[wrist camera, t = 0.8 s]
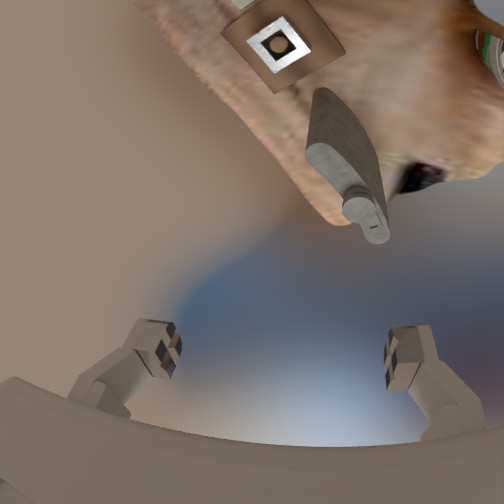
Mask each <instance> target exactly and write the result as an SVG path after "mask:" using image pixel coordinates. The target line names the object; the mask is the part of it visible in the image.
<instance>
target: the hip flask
mask: <svg viewBox="0 0 504 504" xmlns="http://www.w3.org/2000/svg"><path fill="white" fill-rule="evenodd" d="M305 158H306V161H307V162H308V164H309V165H310V166H312V167H313V168H314V169H315V170H317V171H318V172H319V173H320V174H321V175H322V176H323V177H324V178H325V179H326V180H327V181H328V182H329V183H330V184H331V185H332V186H333V187H334V188H335V189H336V190H337V191H338V193H339V194H340V195H341V196H342V198H343V199H344V201H343V204H342V212H343V215H344V217H345V218H346V219H347V220H349V221H350V222H353V223H360V225H361V227H362V230H363V232H364V234H365V237H366V239H367V240H368V241H369V242H370V243H373V244H381V243H384V242H386V241H387V240H388V239H389V238H390V227H389V221H388V214H387V207H386V201H385V195H384V189H383V184H382V179H381V173H380V168H379V163H378V159H377V155H376V152H375V150H374V147H373V145H372V143H371V141H370V139H369V137H368V135H367V133H366V132H365V130H364V128H363V127H362V125H361V124H360V122H359V121H358V120H357V118H356V117H355V116H354V114H353V113H352V112H351V110H350V109H349V108H348V107H347V106H346V105H345V104H344V103H343V101H342V100H341V99H340V98H339V97H338V96H336V95H335V94H334V93H333V92H332V91H331V90H329V89H327V88H319V89H317V90H316V91H315V92H314V94H313V100H312V108H311V116H310V123H309V131H308V138H307V145H306V152H305Z"/></svg>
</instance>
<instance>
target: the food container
mask: <svg viewBox="0 0 504 504" xmlns="http://www.w3.org/2000/svg"><path fill="white" fill-rule="evenodd" d="M474 46H475V49H476V53H477V55H478V57H479V59H480V60H481V62H482V64H483V65H484V66H485V67H486V68H487V69H489V70H490V71H491V72H492V73H493V74H494V75H495V77H496V78H497V80H498V82H499V84H500V85H501V86H502V88H503V89H504V43H503V40H501V39H499V38H497V37H495V36H493V35H489V34H486V33H484V32H481V31H479V30H476V29H475V33H474Z"/></svg>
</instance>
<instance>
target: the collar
mask: <svg viewBox="0 0 504 504" xmlns="http://www.w3.org/2000/svg"><path fill="white" fill-rule="evenodd" d="M280 29H281V30H282V31H283V32H284V34H285V35H286V36H287V37H288V38H289V40H290V41H291V42H292V43H293V44H294V47H292V48H291V49H289V50H288V51H286V52H284V53H283V54H281V55H280V54H279V53H276V52H274V51H273V50H272V49H271V47H270V43H269V41H268V40H267V39H266V38H268V37H269V36H271V35H272V34H274V33H275V32H277V31H278V30H280ZM246 42H247V43H248V44H249V45H250V46H251V47H252V48H253V49H254V51H255V52H256V53H257V54H258V55H259V56H260V57H261V59H262V60H263V61H264V62H265V63H266V64H267V66H268V67H269V68H270V69H271V70H272V72H273V73H274V74H275V73H276V72H278V71H279V70H281V69H283V68H284V67H286V66H287V65H289V64H291V63H292V62H294V61H296V60H297V59H299V58H301V57H302V56H304V55H306V54H307V53H309V52H311V49H312V45H311V44H310V42H309V41H308V40H307V39H306V37H305V36H304V35H303V34H302V32H301V31H300V30H299V29H298V27H297V26H296V25H295V24H294V23H293V21H292V20H291V19H290V18H289V17H288V16H287V14H285V15H284V16H282V17H281V18H279V19H278V20H276V21H274V22H273V23H271V24H270V25H268V26H267V27H265V28H264V29H262V30H261V31H259V32H258V33H257V34H255V35H254V36H252V37H251V38H250V39H248V40H247V41H246Z"/></svg>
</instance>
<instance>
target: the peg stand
mask: <svg viewBox="0 0 504 504" xmlns="http://www.w3.org/2000/svg"><path fill="white" fill-rule="evenodd" d="M285 14H287V16H288V17H289V18H290V19H291V20H292V21H293V23H294V24H295V25H296V26H297V27H298V29H299V30H300V31H301V32H302V34H303V35H304V36H305V37H306V39H307V40H308V41H309V42H310V44H311V45H312V49H311V52H309V53H307V54H306V55H304V56H302V57H301V58H299V59H297V60H296V61H294V62H292V63H291V64H289V65H287V66H286V67H284V68H283V69H281V70H279V71H278V72H276V73H275V74H274V73H273V72H272V70H271V69H270V68H269V67H268V66H267V64H266V63H265V62H264V61H263V60H262V59H261V57H260V56H259V55H258V54H257V53H256V52H255V51H254V49H253V48H252V47H251V46H250V45H249V44H248V43H247V42H246V41H247V40H248V39H250V38H251V37H252V36H254V35H255V34H257V33H258V32H259V31H261V30H262V29H264V28H265V27H267V26H268V25H270V24H271V23H273V22H274V21H276V20H278V19H279V18H281V17H282V16H284V15H285ZM220 34H221V35H222V36H223V37H224V38H225V39H226V40H227V41H228V42H229V43H230V44H231V45H232V46H233V47H234V49H235V50H236V51H237V52H238V53H239V54H240V55H241V56H242V57H243V58H244V60H245V61H246V62H247V63H248V64H249V65H250V66H251V68H252V69H253V70H254V71H255V72H256V73H257V74H258V76H259V77H260V78H261V79H262V80H263V82H264V83H265V84H266V85H267V86H268V88H269V89H270V90H271V91H272V92H273V94H276V93H278V92H279V91H281V90H283V89H284V88H286V87H288V86H289V85H291V84H293V83H294V82H296V81H298V80H299V79H301V78H303V77H305V76H306V75H308V74H310V73H312V72H313V71H315V70H317V69H319V68H320V67H322V66H324V65H326V64H328V63H330V62H331V61H333V60H335V59H337V58H339V57H341V56H343V55H345V54H346V52H345V50H344V49H343V47H342V46H341V45H340V43H339V42H338V40H337V39H336V38H335V36H334V35H333V34H332V32H331V31H330V30H329V28H328V27H327V26H326V24H325V23H324V22H323V20H322V19H321V18H320V17H319V15H318V14H317V13H316V12H315V10H314V9H313V8H312V7H311V5H310V4H309V3H308V2H307V1H306V0H265V1H263V2H262V3H260V4H259V5H257V6H256V7H254V8H253V9H252V10H250V11H249V12H247V13H246V14H245V15H243V16H242V17H240V18H239V19H238V20H236V21H235V22H234V23H232V24H231V25H230V26H228V27H227V28H226V29H225V30H223V31H222V32H221V33H220ZM266 39H267V40H268V41H269V43H270V47H271V49H272V50H273V51H274V52H276V53H279V54H280V55H281V54H283V53H284V52H286V51H288V50H289V49H291V48H292V47H294V44H293V43H292V42H291V41H290V40H289V38H288V37H287V36H286V35H285V34H284V32H283V31H282V30H281V29H280V30H278V31H277V32H275V33H274V34H272V35H271V36H269V37H268V38H266Z"/></svg>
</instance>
